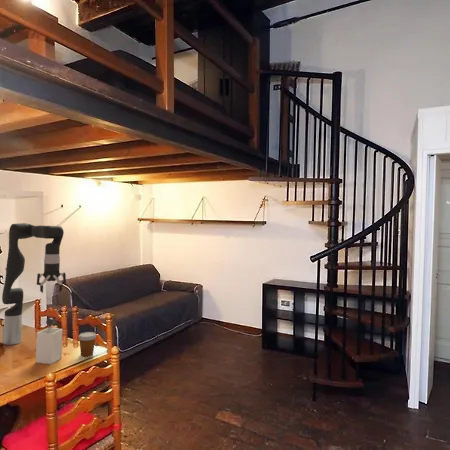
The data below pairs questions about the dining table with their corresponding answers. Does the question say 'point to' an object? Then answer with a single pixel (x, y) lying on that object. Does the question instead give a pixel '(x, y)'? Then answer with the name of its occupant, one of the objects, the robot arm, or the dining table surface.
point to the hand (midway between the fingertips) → (51, 292)
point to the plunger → (50, 323)
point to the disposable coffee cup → (87, 343)
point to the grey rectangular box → (49, 346)
